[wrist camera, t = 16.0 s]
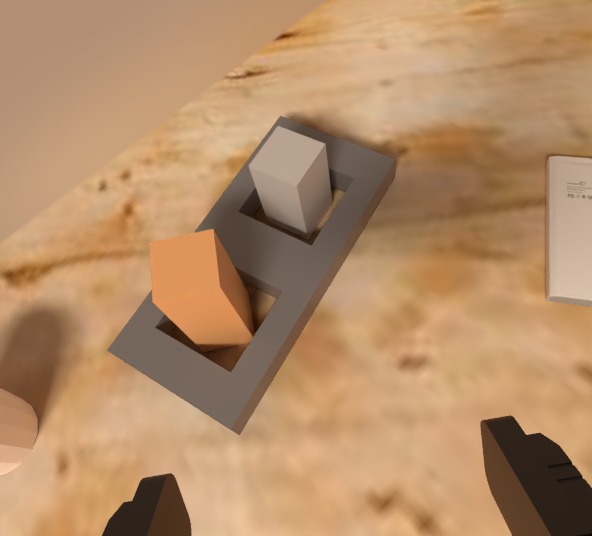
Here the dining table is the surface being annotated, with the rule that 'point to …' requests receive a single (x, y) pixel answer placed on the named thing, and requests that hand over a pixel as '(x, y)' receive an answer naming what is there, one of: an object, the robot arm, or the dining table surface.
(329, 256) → the grey block holder
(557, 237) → the external hard drive
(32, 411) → the shot glass
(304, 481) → the dining table surface
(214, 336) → the plug
